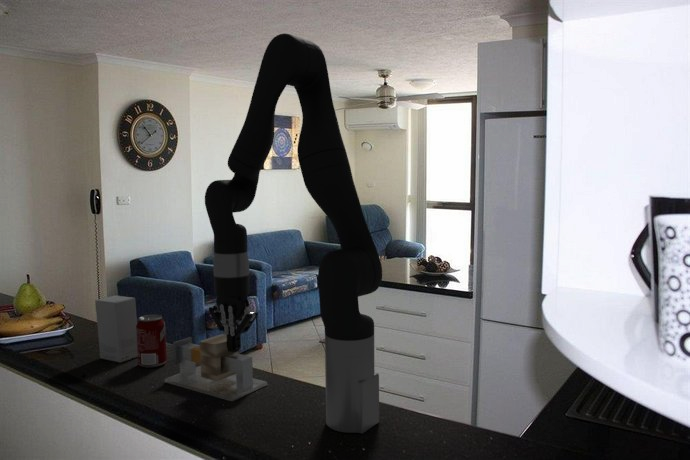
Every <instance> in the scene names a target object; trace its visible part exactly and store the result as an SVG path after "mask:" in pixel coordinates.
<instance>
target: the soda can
mask: <svg viewBox="0 0 690 460" xmlns="http://www.w3.org/2000/svg"><path fill="white" fill-rule="evenodd" d="M136 331H137V352H138V357H137V364H138V365H139V366H141V367H142V368H144V367H145V369H155V368H159V367H161V366H163V365H164V364H165V363H167V360H168V359H167V358H168V357H167V356H168V355H167V339H166V338H167V334H166V322H165V321H164V319H163V315H161V314H146V315H142V316H140V317H138V321H137V325H136Z"/></svg>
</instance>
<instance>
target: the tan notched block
mask: <svg viewBox="0 0 690 460" xmlns="http://www.w3.org/2000/svg"><path fill="white" fill-rule="evenodd" d="M199 345H200V361H201V364H200V366H201V377H203V378H206V379H210V380H214V381H219V380H222V379H224V378H227V377H229V376H232V375H234V374H236V373H235V372H231V371H227V370H223V369H221V358H220V357H222V356H225V355H227V354H230V353H233V352H229V351H228V348H227V336H226V334H225V333H221V334H217V335H215V336H212V337H209V338H206V339H203V340H199ZM239 351H240V350H239ZM239 351H237V352H235V353H237V354H240V352H239Z"/></svg>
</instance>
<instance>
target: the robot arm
mask: <svg viewBox="0 0 690 460" xmlns="http://www.w3.org/2000/svg"><path fill="white" fill-rule="evenodd" d="M327 65H328V64H327V60H326V57H325V55H324V52H323V50H322V48H321V47H320V46H319V45H317V43H315V42H313V41H311V40H308V39H306V38H303V37H300V36H297V35H294V34H291V33H286V32H285V33H280V34H278V35H276V36H274V37H273V38H272V39H271V40H270V41H269V43H268V44H267V46H266V48H265V50H264V54H263V57H262V59H261V63H260V67H259V69H258V73H257V77H256V81H255V84H254V88H253V92H252V96H251V99H250V103H249V107H248V110H247V113H246V117H245V119H244V123H243V125H242V127H241V130H240V132H239V134H238V136H237V138H236V141H235V143H234V145H233V147H232V149H231V151H230V154H229V156H228V158H227V167H228V168H229V171H231V172H232V173H233V174H234V175H233V176H232V178H231V179H216V180H213V181H212V182H210V183H209V185H208V186H207V187H206V190H205V194H204V206H205V209H206V212H207V217H208V220H209V223H210V226H211V229H212V232H213V250H214V251H213V253H214V255H213V263H212V264H213V293H214V295H215V296H216V299H215V300H216V301H215V304H214V305H213V306H209V307H208V312H209V314H210V316H211V317H212V320H213V321H214V323H215V324H216V327H217V328H218V330H219V331H220V332H223V333H224V334H225V335H226V336H227V348H228V351H229V352H233V353H235V352H237V351H240V350H241V347H242V345H241V344H242V343H241V341H242V340H241V339H242V338H241V337H242V334H245V333H247V332H249V330H250V328H251V326H252V325H253V323H254V322H255V321H256V319H257V317H258V315H259V313H258V312H257V311H253V310H252V309H251V308H250V301H249V297H248V296H249V294H250V292H251V291H250V290H251V289H250V288H251V287H250V285H251V283H250V261H249V260H250V259H249V255H248V254H249V253H248V232H247V231H248V230H247V228H246V226H245V225H243V224H240V223H236V220H235V217H234V213H241V212H244V211H246V210H247V209H248V208H250V206H251V205H252V204H253V202H254V201H255V199H256V198H255V197H256V194H257V188H258V184H259V179H260V173H261V170H262V169H263V166H264V164H265V163H266V160H267V158H268V156H269V154H270V152H271V150H272V148H273V147H272V146H273V144H274V140H275V139H274V138H275V114H276V108H277V104H278V102H279V99H280V97H281V95H282V93H283V92H284V90H285V88H286V87H287V86H290V87H294V89H295V92H296V94H297V97H298V100H299V105H300V108H301V116H302V119H301V120H302V122H301V128H300V132H299V136H298V137H299V138H298V141H297V159H298V163H299V167H300V171H301V172H300V173H301V175H302V179H303V182H304V186H305V188H306V190H307V192H308V194H309V195H310V197H311V198H312V199H313V200H314V203H316V204H317V206H318V207H319V208H320V209H321V210H322V211H323V213H324V214H325V216H326V217H327V218H328V220H329V221H330V222H331V224H332V226H333V227H334V230H335V233H336V235H337V239H338V242H339V245H340V249H334V250H331V251H328V252H326V253H325V255H323V257H322V258H321V260H320V263H319V266H318V273H317V274H318V277H317V279H318V280H317V281H318V282H317V285H318V299H319V313H320V318H321V321H322V323H323V326H324V360H325V361H324V364H325V365H324V369H325V372H324V373H325V379H324V380H325V381H324V382H325V423H326V424H325V425H326V426H327V427H328V428H329V429H331V430H334V431H335V432H336V431H337V432H340V433H348V434H349V433H359V434H365V432H367V431H369V430H370V429H371V428H373V427H374V426H376V425H377V424H379V422H380V375H379V373H377V372H375V322H374V319H373V318H372V316H369V315H367V314H363V313H361V312H360V307H359V306H360V305H359V297H362V296H366V295H370V294H372V293H375V292H376V291H377V290H378V289H379V288H380V286H381V284H382V280H383V267H382V263H381V262H382V261H381V259H380V256H379V252H378V249H377V247H376V243H375V242H374V239H373V237H372V233H371V231H370V228H369V226H368V224H367V220H366V218H365V215H364V211H363V208H362V205H361V202H360V198H359V195H358V191H357V189H356V185H355V180H354V177H353V173H352V169H351V164H350V161H349V157H348V153H347V150H346V147H345V144H344V139H343V136H342V133H341V129H340V125H339V121H338V117H337V114H336V110H335V106H334V100H333V96H332V90H331V83H330V77H329V71H328V66H327Z"/></svg>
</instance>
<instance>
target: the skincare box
mask: <svg viewBox="0 0 690 460" xmlns="http://www.w3.org/2000/svg"><path fill="white" fill-rule="evenodd" d="M94 302H95V304H94V305H95V312H96V314H95V315H96V322H97V334H98V335H97V336H98V345H99V356H100V359H102V360H107V361H110V362H111V361H112V362H115V363H123V362H127V361H130V360H132V358H133V359H135V358H138V352H137V331H136V325H137V323H138V317H137V305H136V297H131V296H130V297H129V296H122V295H116V294H115V295H112V296H107V297H105V298H104V297H103V298H100V299H96V300H94Z"/></svg>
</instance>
